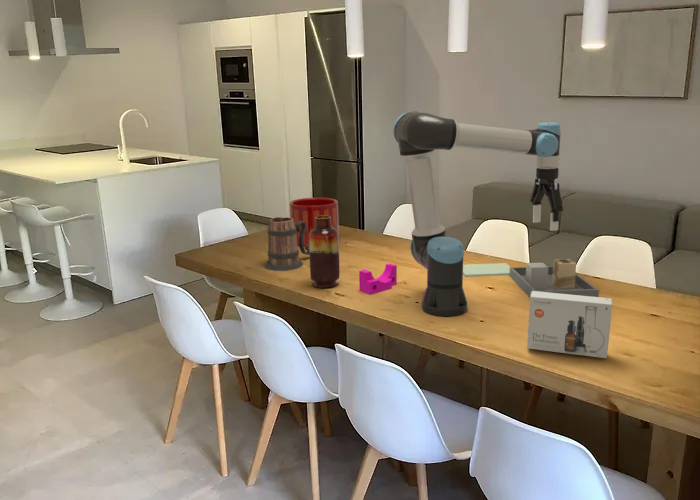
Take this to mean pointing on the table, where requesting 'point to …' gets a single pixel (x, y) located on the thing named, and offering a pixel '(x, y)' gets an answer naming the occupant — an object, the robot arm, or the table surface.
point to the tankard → (285, 244)
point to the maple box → (564, 273)
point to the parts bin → (580, 284)
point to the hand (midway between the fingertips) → (545, 226)
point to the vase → (324, 253)
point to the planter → (313, 213)
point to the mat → (486, 269)
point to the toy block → (378, 280)
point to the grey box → (537, 275)
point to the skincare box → (569, 323)
